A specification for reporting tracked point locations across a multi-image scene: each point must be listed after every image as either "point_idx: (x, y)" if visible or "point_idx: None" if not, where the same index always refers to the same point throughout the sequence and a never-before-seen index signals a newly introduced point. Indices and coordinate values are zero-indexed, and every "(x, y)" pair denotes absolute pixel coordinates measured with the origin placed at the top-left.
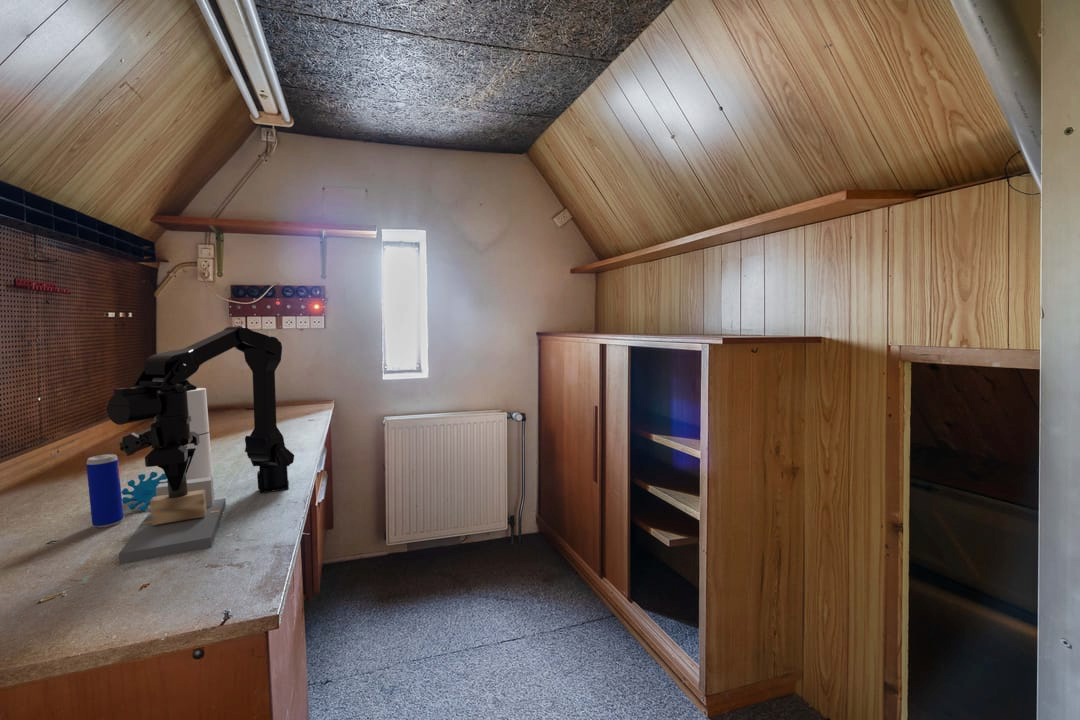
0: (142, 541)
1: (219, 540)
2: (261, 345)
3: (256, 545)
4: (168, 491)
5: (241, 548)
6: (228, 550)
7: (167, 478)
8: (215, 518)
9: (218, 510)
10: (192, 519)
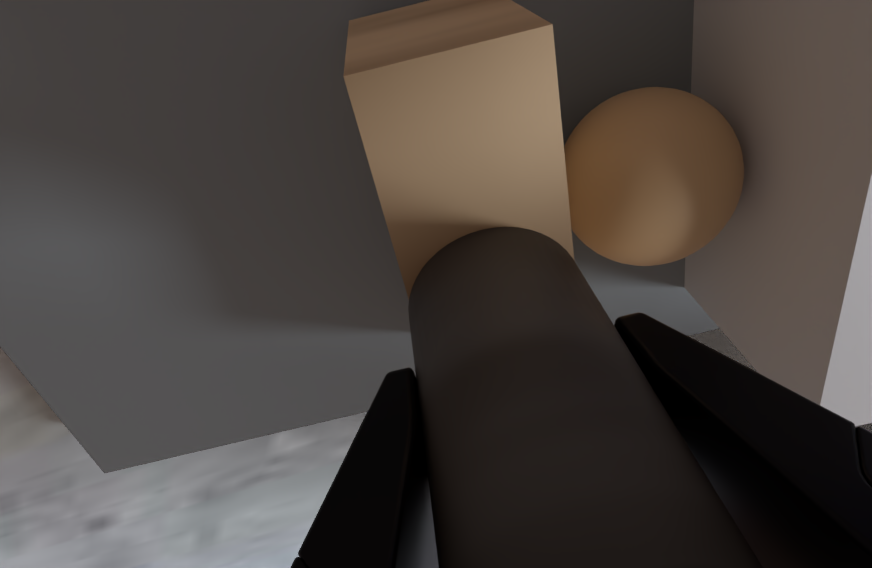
0: (21, 102)
1: None
2: None
3: (141, 565)
4: (462, 282)
5: (110, 532)
6: (88, 499)
7: (308, 535)
8: None
9: None
10: None
